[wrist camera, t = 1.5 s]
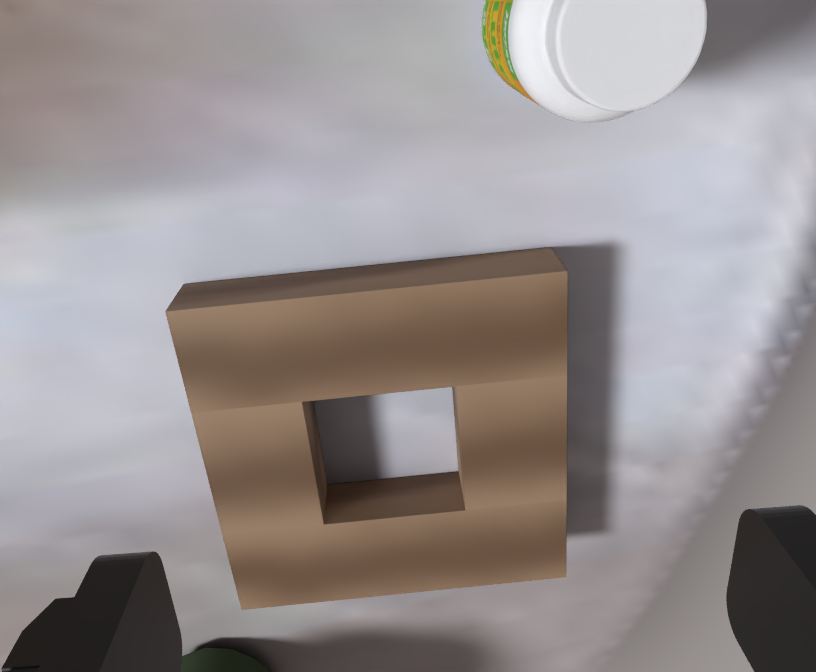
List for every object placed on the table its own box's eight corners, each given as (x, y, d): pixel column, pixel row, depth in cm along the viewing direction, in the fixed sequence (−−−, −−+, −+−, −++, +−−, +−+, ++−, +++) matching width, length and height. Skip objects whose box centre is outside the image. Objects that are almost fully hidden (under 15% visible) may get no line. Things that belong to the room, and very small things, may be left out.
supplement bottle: (452, -4, 27) (491, -5, 18) (581, -92, 26) (689, -136, 17) (519, 122, 29) (583, 176, 20) (642, 46, 28) (765, 68, 19)
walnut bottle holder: (183, 284, 31) (165, 311, 29) (550, 247, 31) (567, 271, 29) (251, 566, 38) (241, 609, 35) (552, 535, 38) (566, 577, 35)
